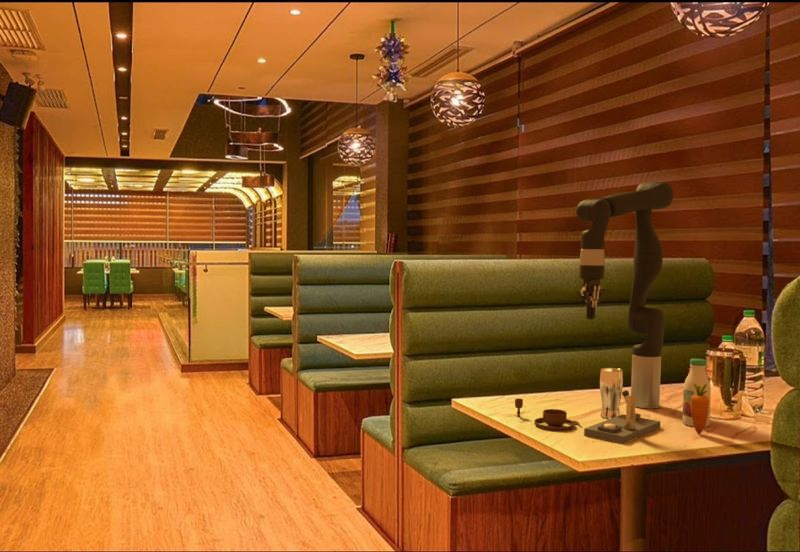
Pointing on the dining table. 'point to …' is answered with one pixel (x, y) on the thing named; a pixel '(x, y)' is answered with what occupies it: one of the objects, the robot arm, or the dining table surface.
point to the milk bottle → (699, 378)
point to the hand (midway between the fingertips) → (590, 319)
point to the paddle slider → (630, 413)
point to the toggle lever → (626, 394)
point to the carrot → (699, 408)
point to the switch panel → (622, 429)
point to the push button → (610, 426)
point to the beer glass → (611, 391)
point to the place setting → (550, 418)
